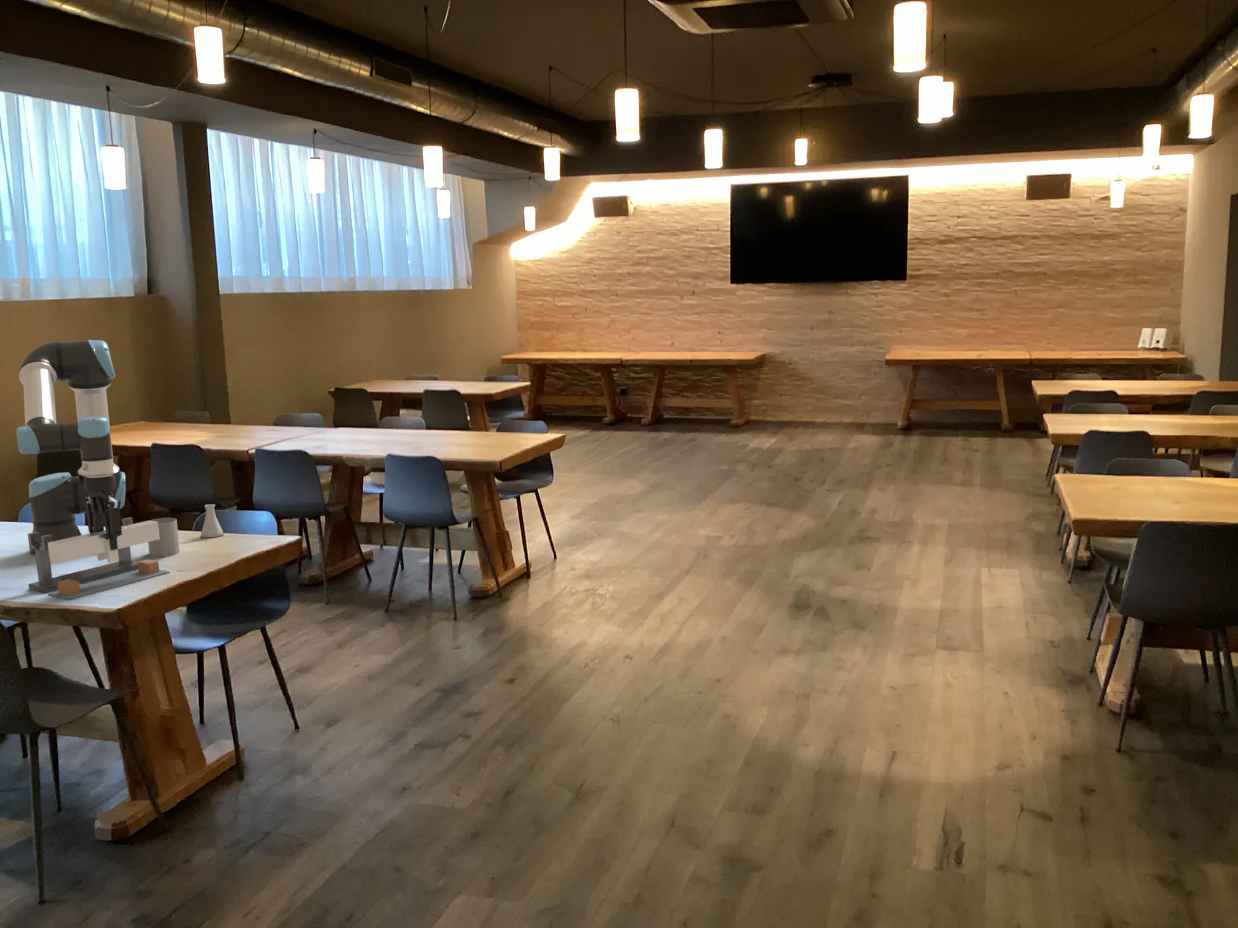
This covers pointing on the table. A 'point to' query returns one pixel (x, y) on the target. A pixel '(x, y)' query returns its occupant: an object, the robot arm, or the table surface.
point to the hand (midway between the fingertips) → (108, 560)
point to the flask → (211, 523)
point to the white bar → (101, 542)
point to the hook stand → (84, 576)
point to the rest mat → (108, 581)
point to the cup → (165, 539)
